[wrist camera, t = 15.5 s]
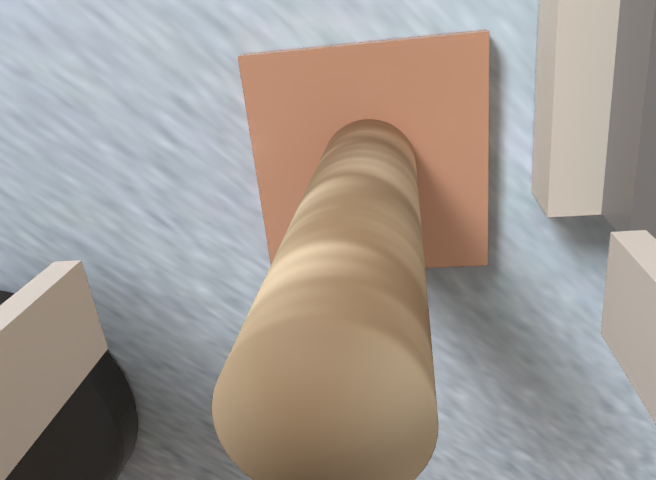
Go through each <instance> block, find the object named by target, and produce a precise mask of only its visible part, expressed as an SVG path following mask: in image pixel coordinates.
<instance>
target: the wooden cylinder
mask: <svg viewBox="0 0 656 480" xmlns="http://www.w3.org/2000/svg"><path fill="white" fill-rule="evenodd" d="M212 416H213V423H214V427H215V430H216V433H217V436H218V438H219V440H220V442H221V444H222V447H223V448H224V450H225V451H226V453H227V454H228V456H229V457H230V458H231V460H232V461H233V462H234V463H235V464H236V465H237V467H238V468H240V469H241V470H242V471H243V472H244V473H245V474H246V475H247V476H248V477H250V478H251V479H252V480H414V479H416V478H417V477H418V475H419V474H420V473H421V472H422V471H423V470H424V468H425V467H426V465H427V464H428V462H429V460H430V459H431V457H432V454H433V452H434V449H435V446H436V442H437V437H438V414H437V402H436V391H435V379H434V367H433V356H432V344H431V332H430V321H429V309H428V297H427V286H426V274H425V263H424V251H423V239H422V228H421V216H420V204H419V193H418V181H417V169H416V159H415V154H414V150H413V148H412V145H411V143H410V142H409V140H408V139H407V137H406V136H405V135H404V134H403V133H402V132H401V131H400V130H399V129H398V128H396V127H395V126H393V125H391V124H389V123H387V122H384V121H380V120H375V119H363V120H358V121H354V122H351V123H349V124H347V125H345V126H344V127H342V128H341V129H340V130H338V131H337V132H336V133H335V134H334V135H333V136H332V138H331V139H330V141H329V142H328V144H327V146H326V148H325V151H324V153H323V155H322V157H321V159H320V161H319V163H318V166H317V168H316V170H315V172H314V174H313V176H312V178H311V181H310V183H309V185H308V187H307V189H306V191H305V193H304V196H303V198H302V200H301V202H300V204H299V206H298V208H297V211H296V213H295V215H294V217H293V219H292V221H291V223H290V226H289V228H288V230H287V232H286V234H285V236H284V239H283V241H282V243H281V245H280V247H279V249H278V251H277V254H276V256H275V258H274V260H273V262H272V264H271V266H270V269H269V271H268V273H267V275H266V277H265V279H264V281H263V284H262V286H261V288H260V290H259V292H258V294H257V296H256V299H255V301H254V303H253V305H252V307H251V309H250V311H249V314H248V316H247V318H246V320H245V322H244V324H243V326H242V329H241V331H240V333H239V335H238V337H237V339H236V341H235V344H234V346H233V348H232V350H231V352H230V354H229V356H228V359H227V361H226V363H225V365H224V367H223V369H222V371H221V374H220V376H219V378H218V380H217V383H216V386H215V389H214V393H213V399H212Z"/></svg>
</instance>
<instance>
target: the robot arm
mask: <svg viewBox="0 0 656 480" xmlns="http://www.w3.org/2000/svg"><path fill="white" fill-rule="evenodd" d="M601 335H602V336H603V338H604V340H605V341H606V343H607V345H608V346H609V348H610V350H611V351H612V353H613V355H614V356H615V358H616V360H617V361H618V363H619V365H620V366H621V368H622V370H623V371H624V373H625V374H626V376H627V378H628V379H629V381H630V383H631V384H632V386H633V388H634V389H635V391H636V393H637V394H638V396H639V398H640V399H641V401H642V403H643V404H644V406H645V408H646V409H647V411H648V413H649V414H650V416H651V418H652V419H653V421H654V422H655V424H656V239H655V238H654V237H653V236H652V235H651V234H650V233H649V232H648V231H646V230H636V231H618V232H611V233H610V243H609V254H608V264H607V274H606V284H605V294H604V305H603V315H602V325H601ZM107 349H108V347H107V343H106V340H105V337H104V334H103V330H102V327H101V324H100V320H99V317H98V314H97V310H96V307H95V304H94V301H93V297H92V294H91V291H90V287H89V284H88V281H87V278H86V274H85V271H84V268H83V264H82V261H81V260H76V261H57V262H53V263H52V264H51V265H49V266H48V267H47V268H46V269H45V270H43V271H42V272H41V273H40V274H38V275H37V276H36V277H35V278H33V279H32V280H31V281H30V282H28V283H27V284H26V285H25V286H24V287H22V288H21V289H20V290H19V291H17V292H16V293H15V294H14V293H10V292H6V291H1V290H0V480H117V478H118V477H119V475H120V473H121V472H122V470H123V468H124V466H125V465H126V463H127V461H128V459H129V458H130V456H131V454H132V451H133V449H134V446H135V442H136V437H137V413H136V407H135V403H134V399H133V396H132V393H131V391H130V388H129V386H128V384H127V382H126V380H125V378H124V376H123V374H122V373H121V371H120V369H119V368H118V366H117V365H116V363H115V362H114V360H113V359H112V358H111V357H110V355H109V354H108V353H107V352H106V351H107Z"/></svg>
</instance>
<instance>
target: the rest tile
mask: <svg viewBox="0 0 656 480" xmlns="http://www.w3.org/2000/svg"><path fill="white" fill-rule="evenodd" d="M238 62H239V68H240V74H241V80H242V87H243V93H244V99H245V106H246V112H247V118H248V124H249V131H250V137H251V143H252V149H253V156H254V162H255V168H256V175H257V181H258V187H259V193H260V200H261V206H262V212H263V218H264V225H265V231H266V237H267V243H268V250H269V256H270V262H271V264H272V262H273V260H274V258H275V256H276V254H277V251H278V249H279V247H280V245H281V243H282V241H283V239H284V236H285V234H286V232H287V230H288V228H289V226H290V223H291V221H292V219H293V217H294V215H295V213H296V211H297V208H298V206H299V204H300V202H301V200H302V198H303V196H304V193H305V191H306V189H307V187H308V185H309V183H310V181H311V178H312V176H313V174H314V172H315V170H316V168H317V166H318V163H319V161H320V159H321V157H322V155H323V153H324V151H325V148H326V146H327V144H328V142H329V141H330V139H331V138H332V136H333V135H334V134H335V133H336V132H337V131H338V130H340V129H341V128H342V127H344V126H345V125H347V124H349V123H351V122H354V121H358V120H363V119H375V120H380V121H384V122H387V123H389V124H391V125H393V126H395V127H396V128H398V129H399V130H400V131H401V132H402V133H403V134H404V135H405V136H406V137H407V139H408V140H409V142H410V143H411V145H412V148H413V150H414V154H415V159H416V169H417V181H418V193H419V204H420V216H421V228H422V239H423V251H424V263H425V268H437V267H461V266H484V265H488V157H489V31H487V30H478V31H468V32H458V33H448V34H438V35H428V36H419V37H409V38H399V39H389V40H379V41H369V42H359V43H349V44H339V45H329V46H319V47H309V48H299V49H289V50H279V51H270V52H260V53H250V54H243V55H240V56H238Z"/></svg>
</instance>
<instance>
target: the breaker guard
mask: <svg viewBox="0 0 656 480" xmlns="http://www.w3.org/2000/svg"><path fill="white" fill-rule="evenodd" d="M532 194H533V196H534V197H535V199H536V200H537V202H538V203H539V205H540V207H541V208H542V210H543V211H544V213H545V214H546V216H547V217H565V216H584V215H602V216H603V217H604V218H605V220H606V221H607V222H608V223H609V224H610V225H611V226H612V227H613V229H614V230H615V231H616V232H618V231H636V230H646V231H648V232H649V233H650V234H651V235H652V236H653V237H654V238H655V239H656V0H539V9H538V35H537V62H536V88H535V115H534V141H533V168H532Z"/></svg>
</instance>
